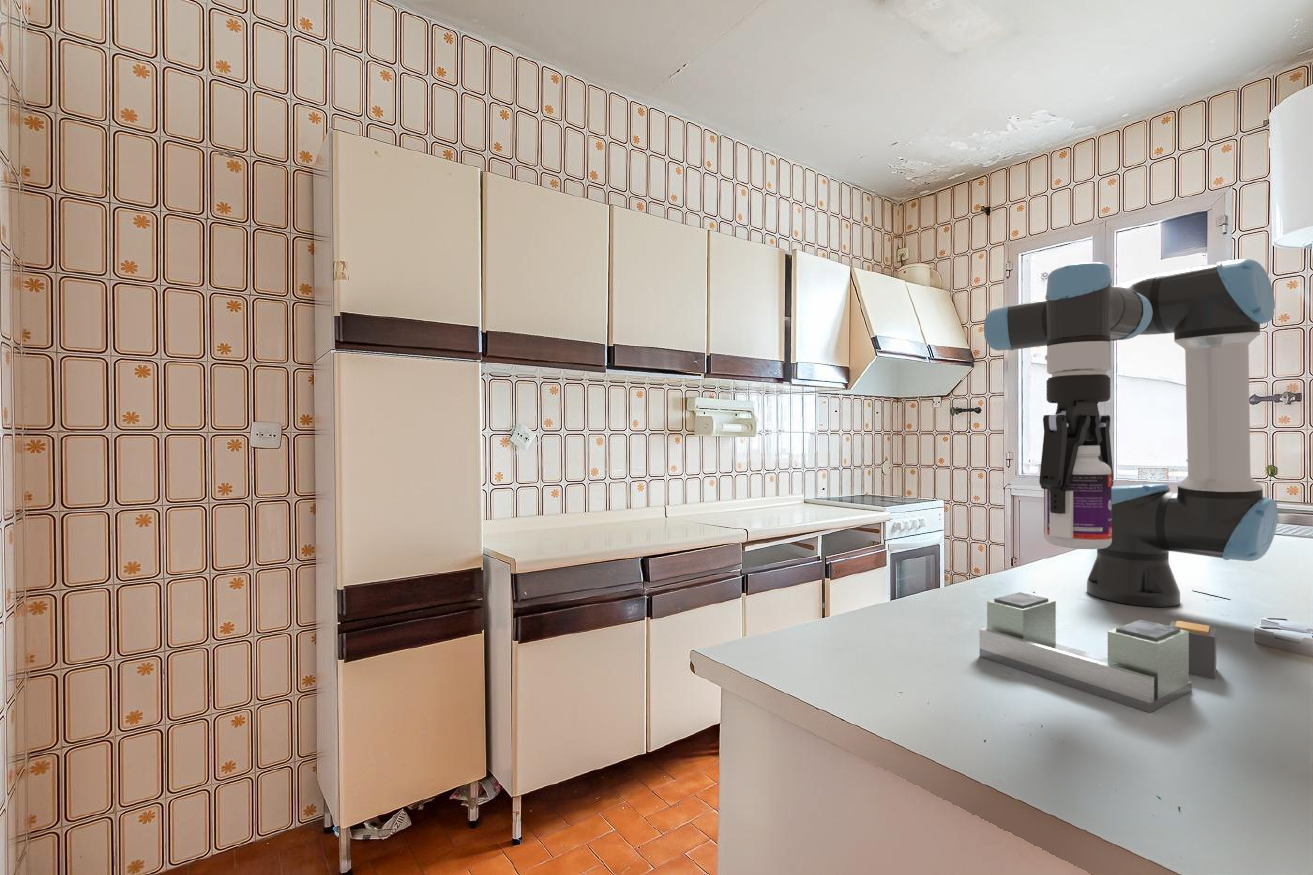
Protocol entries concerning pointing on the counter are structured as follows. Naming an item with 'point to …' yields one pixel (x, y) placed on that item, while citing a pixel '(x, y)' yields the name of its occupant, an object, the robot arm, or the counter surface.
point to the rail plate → (1133, 674)
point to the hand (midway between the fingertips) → (1077, 533)
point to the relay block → (1200, 648)
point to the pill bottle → (1086, 503)
